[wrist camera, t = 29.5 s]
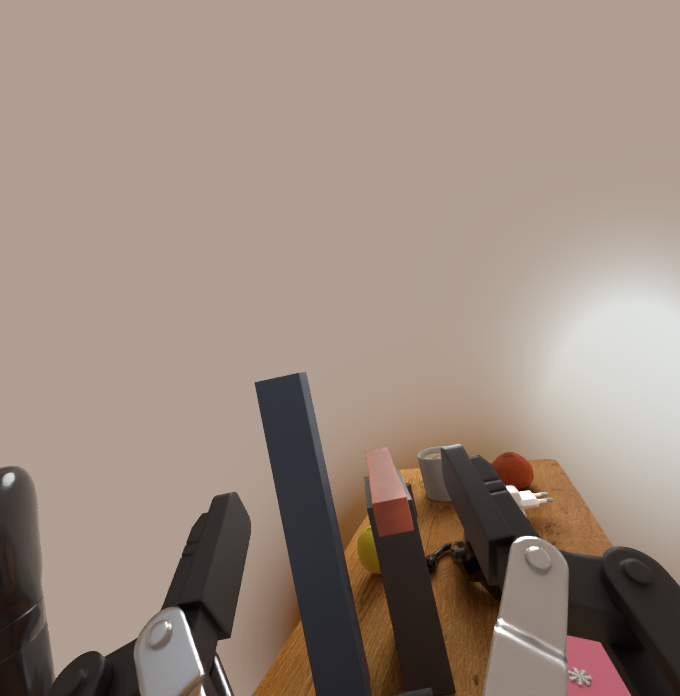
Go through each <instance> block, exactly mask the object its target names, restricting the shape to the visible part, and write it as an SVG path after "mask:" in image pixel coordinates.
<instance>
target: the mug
mask: <svg viewBox="0 0 680 696" xmlns="http://www.w3.org/2000/svg"><path fill="white" fill-rule="evenodd" d="M566 657H567V661H568V694H567V696H631V694H630V693H629V691H628V689H627V688H626V686H625V684H624V682H623V681H622V679H621V677H620V675H619V674H618V672H617V670H616V669H615V667H614V665H613V663H612V662H611V660H610V658H609V657H608V655H607V653H606V651H605V650H604V648H603V646H602V645H601V643H600V642H596V641H592V640H587V639H582V638H578V637H573V636H568V635H567V647H566Z"/></svg>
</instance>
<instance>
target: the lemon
mask: <svg viewBox="0 0 680 696" xmlns="http://www.w3.org/2000/svg"><path fill="white" fill-rule="evenodd" d="M358 554H359V558H360V561H361V563H362V564H363V566H364V567H365V568H366V569H367V570H368V571H369V572H372V573H377V574H381V571H380V566H379V562H378V557H377V552H376V548H375V543H374V539H373V534H372V529H371V526H368V527H367V528H365V529H364V530H363V531H362V532H361V534H360V536H359V539H358Z"/></svg>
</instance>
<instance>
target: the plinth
mask: <svg viewBox="0 0 680 696" xmlns="http://www.w3.org/2000/svg"><path fill="white" fill-rule="evenodd" d="M396 471H397V474H398V476H399V479H400V481H401V484H402V486H403V489H404V491H405V494H406V496H407V500H408V504H409V509H410V513H411V518H412V522H413V527H414V530H413V531H408V532H403V533H398V534H393V535H388V536H383V537H379V534H378V530H377V525H376V520H375V516H374V511H373V507H372V500H371V492H370V484H369V476H367V477H364V478H365V491H366V503H367V511H368V516H369V520H370V525H371V529H372V534H373V539H374V543H375V548H376V552H377V557H378V562H379V566H380V571H381V576H382V580H383V585H384V589H385V594H386V599H387V603H388V608H389V612H390V617H391V622H392V626H393V631H394V636H395V640H396V645H397V649H398V654H399V659H400V663H401V668H402V672H403V677H404V682H405V686H406V691H407V692H409V691H414V690H420V689H425V688H430V687H431V689H432V693H433V696H441V695H446V694H452V693H456V691H455V687H454V682H453V678H452V673H451V669H450V665H449V660H448V656H447V651H446V647H445V643H444V638H443V634H442V629H441V625H440V621H439V616H438V612H437V607H436V603H435V599H434V594H433V590H432V585H431V581H430V576H429V572H428V568H427V563H426V559H425V554H424V550H423V546H422V541H421V537H420V532H419V528H418V524H417V519H416V515H415V510H414V506H413V502H412V498H411V496H410V494H409V491H408V489H407V487H406V484H405V482H404V480H403V477H402V475H401V473H400V471H399V470H396Z"/></svg>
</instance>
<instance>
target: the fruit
mask: <svg viewBox="0 0 680 696" xmlns="http://www.w3.org/2000/svg"><path fill="white" fill-rule="evenodd" d="M492 466H493V468H494V469H495V471H496V472H497V474H498V475H499V477H500V479H501V480H502V481H503V483H504V484H505V486H509V485H512V486H514V487H515V488H516V489H524V488H526V487H527V486H529V485H530V484H531V482H532V480H533V478H534V475H533V470H532V467H531V465H530V464H529V462H528V461H527V460H526V459H525V458H523V457H522V456H520V455H518V454H515V453H513V452H507V453H504V454H501V455H499V456H498V457H497V458H496V459H495V460H494V461H493V463H492Z"/></svg>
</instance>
